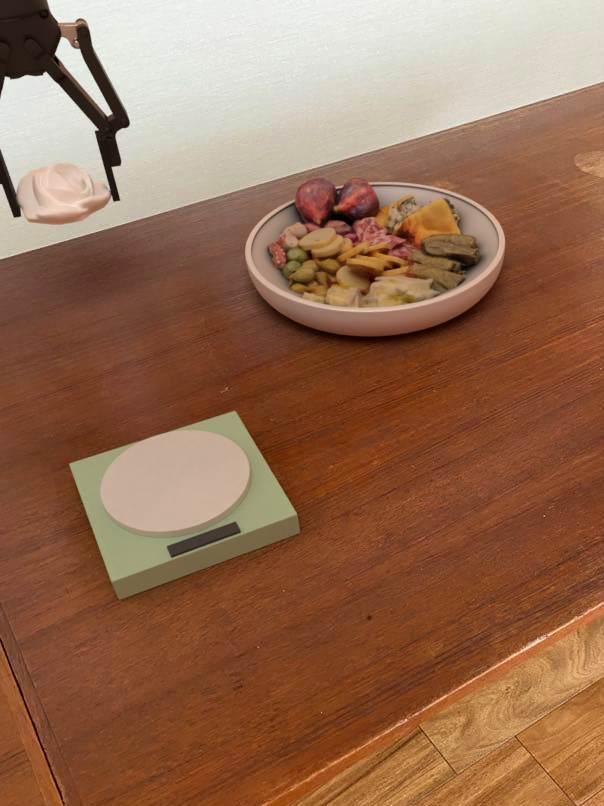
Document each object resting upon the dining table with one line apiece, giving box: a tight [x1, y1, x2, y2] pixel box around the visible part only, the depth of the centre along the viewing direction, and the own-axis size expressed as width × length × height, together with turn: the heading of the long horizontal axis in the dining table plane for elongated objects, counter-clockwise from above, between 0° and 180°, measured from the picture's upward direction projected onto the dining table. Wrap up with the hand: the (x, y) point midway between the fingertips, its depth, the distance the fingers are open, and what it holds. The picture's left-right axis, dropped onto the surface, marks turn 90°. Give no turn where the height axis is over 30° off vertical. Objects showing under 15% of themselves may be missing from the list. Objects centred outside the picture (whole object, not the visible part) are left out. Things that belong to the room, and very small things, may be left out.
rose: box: [15, 162, 112, 226], centre depth 92 cm, size 10×4×10 cm
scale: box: [68, 410, 301, 601], centre depth 77 cm, size 16×16×3 cm
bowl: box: [244, 177, 506, 337], centre depth 101 cm, size 30×30×8 cm
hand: (66, 203), depth 94 cm, fingers closed on rose, 10 cm apart
